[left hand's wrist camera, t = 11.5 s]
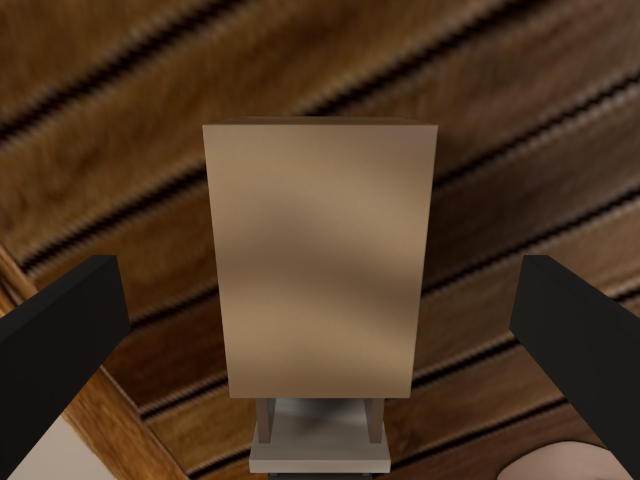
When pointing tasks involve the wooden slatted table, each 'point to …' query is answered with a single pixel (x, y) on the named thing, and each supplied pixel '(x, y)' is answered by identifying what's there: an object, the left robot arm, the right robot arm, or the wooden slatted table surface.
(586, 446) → the anatomical model
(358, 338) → the cabinet
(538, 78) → the wooden slatted table surface
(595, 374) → the left robot arm
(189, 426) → the wooden slatted table surface
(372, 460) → the drawer
